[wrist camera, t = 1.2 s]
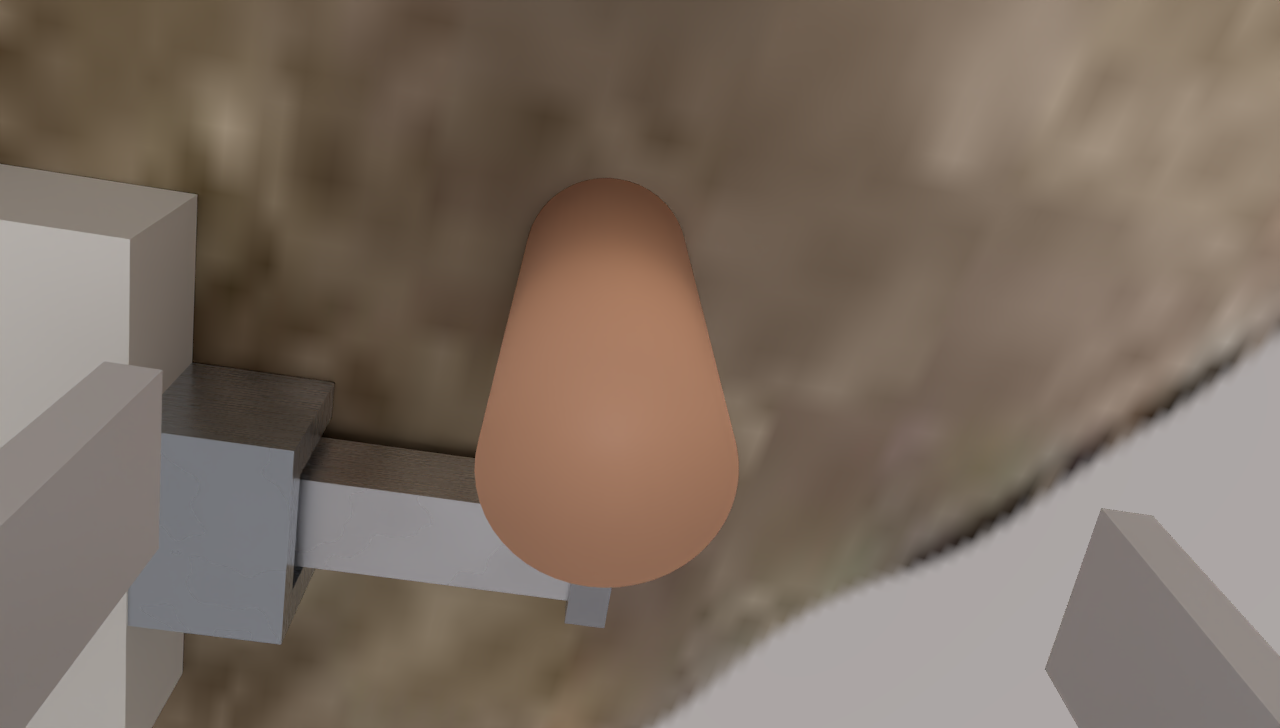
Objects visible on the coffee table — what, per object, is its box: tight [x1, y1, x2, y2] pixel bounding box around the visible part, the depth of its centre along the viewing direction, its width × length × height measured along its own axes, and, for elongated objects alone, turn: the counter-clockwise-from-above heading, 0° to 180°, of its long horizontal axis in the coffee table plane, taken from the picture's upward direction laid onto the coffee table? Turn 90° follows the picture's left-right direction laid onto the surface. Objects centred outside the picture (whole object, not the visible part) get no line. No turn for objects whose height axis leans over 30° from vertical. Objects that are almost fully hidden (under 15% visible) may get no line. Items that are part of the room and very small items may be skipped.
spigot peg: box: [474, 178, 739, 588], centre depth 23 cm, size 4×4×12 cm
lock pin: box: [294, 437, 612, 628], centre depth 29 cm, size 10×3×3 cm, turn 80°
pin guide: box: [128, 362, 334, 644], centre depth 28 cm, size 4×5×4 cm
